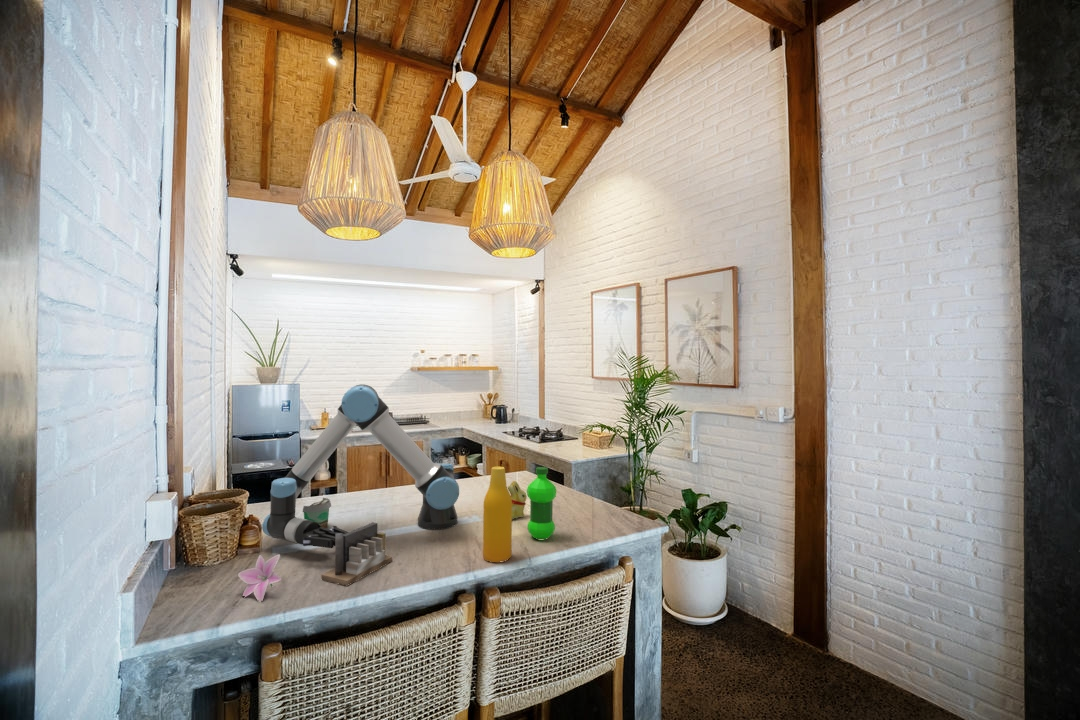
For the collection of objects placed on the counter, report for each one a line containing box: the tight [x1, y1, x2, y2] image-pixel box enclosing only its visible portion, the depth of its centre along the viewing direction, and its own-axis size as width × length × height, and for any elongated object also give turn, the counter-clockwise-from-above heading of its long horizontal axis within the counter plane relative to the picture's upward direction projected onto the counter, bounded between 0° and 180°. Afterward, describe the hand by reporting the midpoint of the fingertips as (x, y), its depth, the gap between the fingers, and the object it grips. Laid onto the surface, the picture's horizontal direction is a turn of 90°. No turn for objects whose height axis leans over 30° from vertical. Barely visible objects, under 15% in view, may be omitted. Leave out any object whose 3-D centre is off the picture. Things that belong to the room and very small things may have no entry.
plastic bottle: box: [526, 466, 557, 539], centre depth 181 cm, size 10×10×25 cm
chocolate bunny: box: [507, 480, 528, 520], centre depth 203 cm, size 7×11×15 cm, turn 125°
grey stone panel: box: [342, 522, 378, 571], centre depth 153 cm, size 13×2×10 cm, turn 155°
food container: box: [302, 497, 332, 529], centre depth 187 cm, size 12×6×10 cm, turn 168°
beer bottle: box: [482, 466, 513, 563], centre depth 162 cm, size 9×9×29 cm
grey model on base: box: [321, 532, 393, 586], centre depth 151 cm, size 19×10×13 cm, turn 157°
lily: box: [237, 554, 282, 601], centre depth 136 cm, size 12×12×10 cm
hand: (359, 544), depth 154 cm, fingers closed, pressing on grey stone panel
